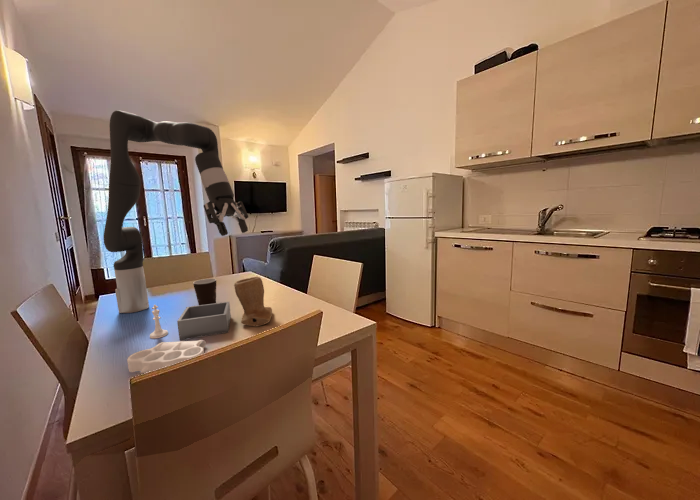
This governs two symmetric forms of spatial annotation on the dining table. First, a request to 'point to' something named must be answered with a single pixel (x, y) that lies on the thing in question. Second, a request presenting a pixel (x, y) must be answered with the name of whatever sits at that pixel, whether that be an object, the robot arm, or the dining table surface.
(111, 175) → the robot arm
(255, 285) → the tan upright curved piece
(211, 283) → the coffee mug
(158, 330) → the chess piece
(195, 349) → the white muffin tray
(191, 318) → the bin
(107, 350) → the dining table surface
